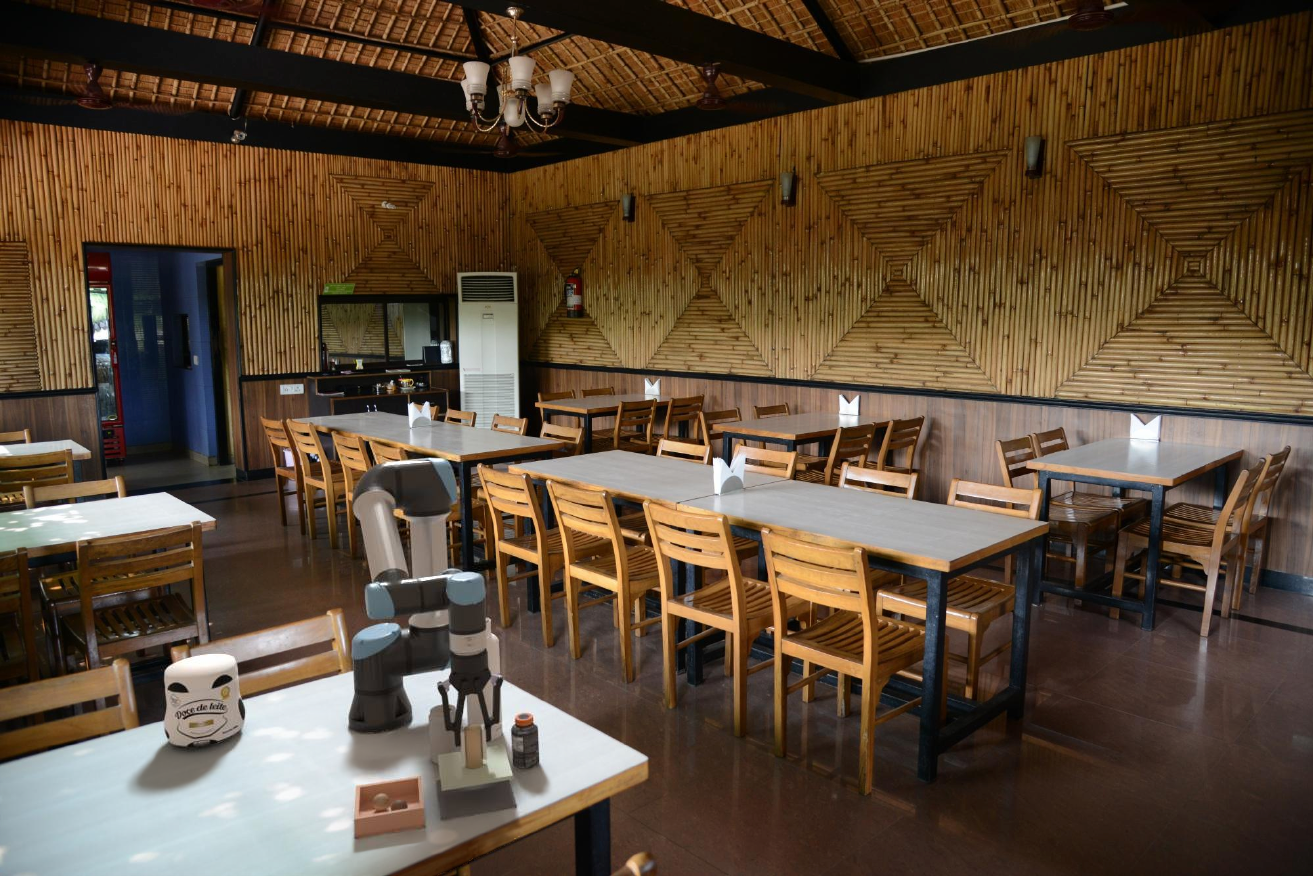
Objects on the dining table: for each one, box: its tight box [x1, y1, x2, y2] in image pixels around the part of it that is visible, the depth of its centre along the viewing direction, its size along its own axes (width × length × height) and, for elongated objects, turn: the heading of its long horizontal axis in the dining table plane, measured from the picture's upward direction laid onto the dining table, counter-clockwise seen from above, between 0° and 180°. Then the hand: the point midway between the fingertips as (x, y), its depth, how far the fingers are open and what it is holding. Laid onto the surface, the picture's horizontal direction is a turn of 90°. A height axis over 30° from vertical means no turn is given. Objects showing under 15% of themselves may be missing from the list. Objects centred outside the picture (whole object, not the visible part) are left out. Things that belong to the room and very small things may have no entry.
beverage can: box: [428, 703, 461, 765], centre depth 199 cm, size 6×6×12 cm
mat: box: [435, 779, 518, 821], centre depth 184 cm, size 15×15×1 cm
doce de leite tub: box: [163, 653, 246, 749], centre depth 211 cm, size 17×17×18 cm
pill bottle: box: [510, 712, 540, 771], centre depth 196 cm, size 6×6×11 cm
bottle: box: [466, 617, 503, 741], centre depth 210 cm, size 8×8×28 cm
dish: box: [353, 775, 426, 840], centre depth 177 cm, size 13×13×4 cm
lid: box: [437, 724, 514, 791], centre depth 183 cm, size 14×14×9 cm
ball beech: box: [373, 794, 389, 811], centre depth 178 cm, size 3×3×3 cm
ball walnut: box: [391, 799, 408, 811], centre depth 175 cm, size 3×3×3 cm
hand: (473, 758), depth 183 cm, fingers closed on lid, 4 cm apart
